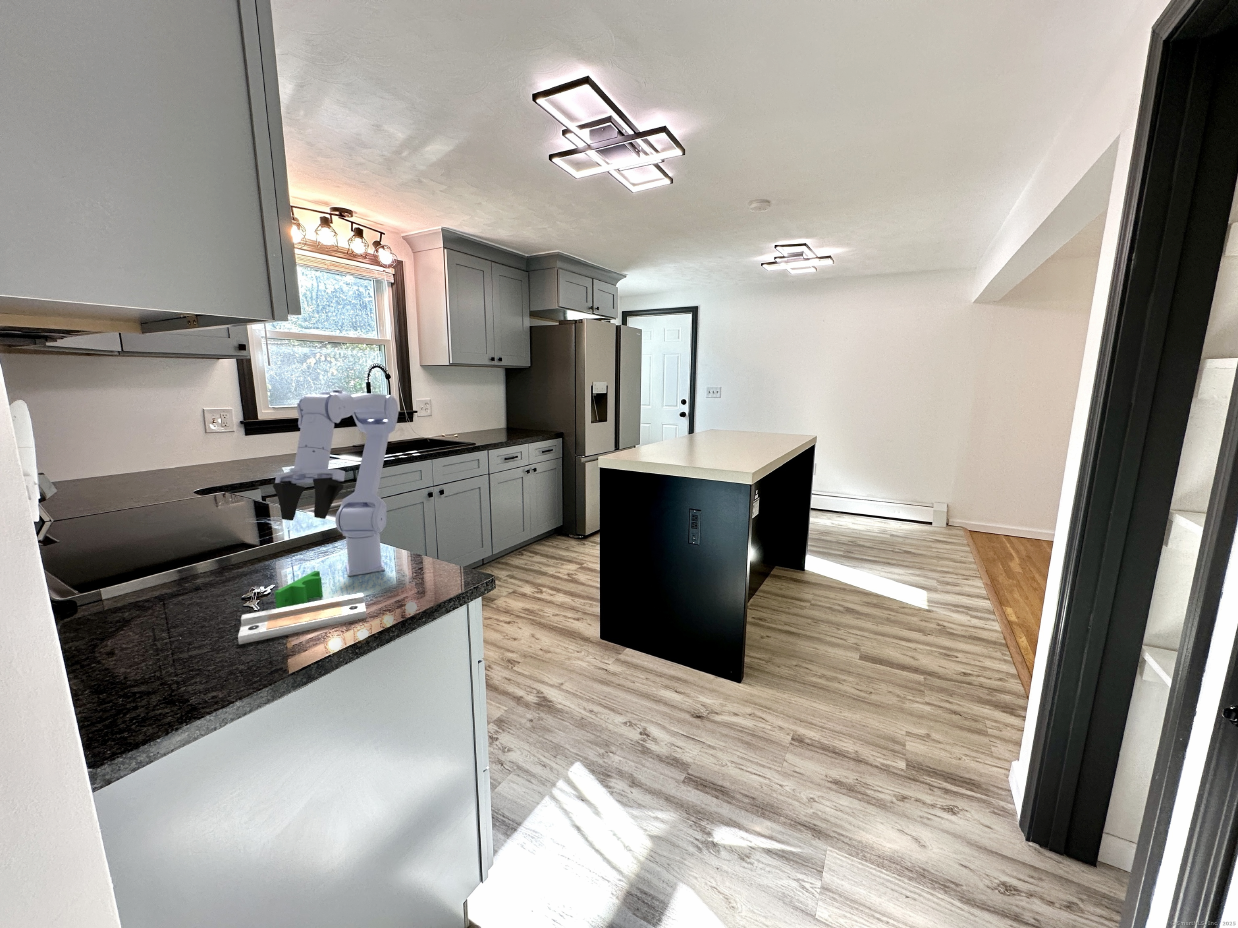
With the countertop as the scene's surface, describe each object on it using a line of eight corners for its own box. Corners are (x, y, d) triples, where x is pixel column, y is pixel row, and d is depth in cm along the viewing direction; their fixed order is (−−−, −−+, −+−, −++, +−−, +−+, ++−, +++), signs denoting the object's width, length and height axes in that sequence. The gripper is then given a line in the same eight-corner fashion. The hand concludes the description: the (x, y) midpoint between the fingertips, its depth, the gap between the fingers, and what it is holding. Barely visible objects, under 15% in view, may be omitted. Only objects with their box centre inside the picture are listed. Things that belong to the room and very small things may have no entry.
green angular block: (294, 614, 99) (291, 592, 99) (277, 613, 100) (274, 591, 99) (332, 590, 110) (330, 570, 110) (316, 589, 111) (314, 570, 110)
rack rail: (243, 627, 94) (242, 614, 93) (363, 603, 104) (362, 592, 103) (239, 644, 88) (237, 631, 87) (366, 617, 98) (365, 605, 97)
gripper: (266, 448, 98) (254, 517, 95) (328, 442, 95) (318, 513, 92) (296, 458, 105) (286, 522, 101) (355, 452, 102) (347, 519, 98)
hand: (303, 518), depth 97 cm, fingers open, 7 cm apart
